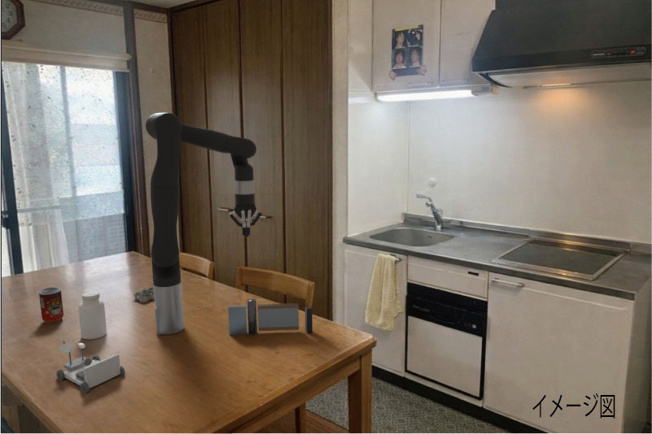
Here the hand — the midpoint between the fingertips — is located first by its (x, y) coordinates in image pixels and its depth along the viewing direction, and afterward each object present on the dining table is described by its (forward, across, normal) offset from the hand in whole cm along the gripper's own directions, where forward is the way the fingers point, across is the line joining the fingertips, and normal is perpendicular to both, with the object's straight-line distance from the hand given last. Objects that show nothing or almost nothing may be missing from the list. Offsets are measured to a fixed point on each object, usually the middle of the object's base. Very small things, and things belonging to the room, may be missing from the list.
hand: (246, 236), depth 183 cm
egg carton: (+30, -38, +26) cm, 55 cm away
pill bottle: (+29, -55, -8) cm, 63 cm away
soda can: (+29, -71, +11) cm, 78 cm away
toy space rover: (+30, -53, -38) cm, 71 cm away
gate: (+28, +6, -27) cm, 39 cm away
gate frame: (+29, +3, -27) cm, 40 cm away
